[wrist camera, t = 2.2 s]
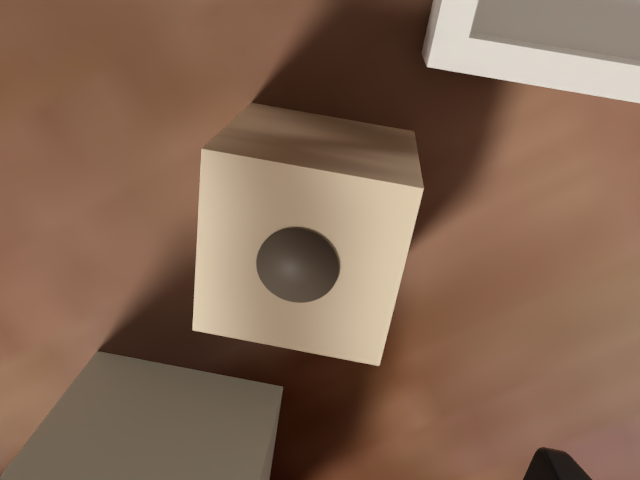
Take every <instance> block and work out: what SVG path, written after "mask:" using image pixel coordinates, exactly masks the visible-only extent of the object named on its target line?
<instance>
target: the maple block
mask: <svg viewBox="0 0 640 480" xmlns="http://www.w3.org/2000/svg"><path fill="white" fill-rule="evenodd" d="M423 190H424V186H423V180H422V174H421V168H420V162H419V156H418V150H417V144H416V138H415V132H414V131H410V130H405V129H399V128H393V127H387V126H382V125H376V124H370V123H365V122H359V121H353V120H348V119H342V118H336V117H330V116H325V115H319V114H313V113H308V112H302V111H296V110H291V109H285V108H279V107H273V106H268V105H262V104H256V103H250V104H249V105H248V106H247V107H246V108H245V109H244V110H243V111H242V112H241V113H240V114H238V115H237V116H236V117H235V118H234V119H233V120H232V121H231V122H230V123H229V124H228V125H227V126H226V127H224V128H223V129H222V130H221V131H220V132H219V133H218V134H217V135H216V136H215V137H214V138H213V139H211V140H210V141H209V142H208V143H207V144H206V145H205V146H204V147H203V148H202V150H201V170H200V189H199V209H198V228H197V248H196V268H195V287H194V307H193V327H192V330H193V331H199V332H204V333H209V334H214V335H219V336H225V337H230V338H235V339H240V340H246V341H251V342H256V343H261V344H266V345H272V346H277V347H282V348H287V349H292V350H298V351H303V352H308V353H313V354H319V355H324V356H329V357H334V358H339V359H345V360H350V361H355V362H360V363H366V364H371V365H376V366H380V362H381V358H382V354H383V350H384V346H385V342H386V338H387V334H388V330H389V326H390V322H391V318H392V314H393V310H394V306H395V302H396V298H397V294H398V290H399V286H400V282H401V278H402V274H403V270H404V266H405V262H406V258H407V254H408V250H409V246H410V242H411V238H412V234H413V230H414V226H415V222H416V218H417V214H418V210H419V206H420V202H421V198H422V194H423Z"/></svg>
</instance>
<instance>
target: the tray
mask: <svg viewBox="0 0 640 480" xmlns="http://www.w3.org/2000/svg"><path fill="white" fill-rule="evenodd" d="M421 54H422V57H423V59H424V61H425V64H426V66H427V67H429V68H435V69H441V70H447V71H453V72H459V73H465V74H471V75H476V76H482V77H488V78H494V79H500V80H506V81H512V82H518V83H524V84H530V85H535V86H541V87H547V88H553V89H559V90H565V91H571V92H577V93H583V94H589V95H594V96H600V97H606V98H612V99H618V100H624V101H630V102H636V103H640V0H433V2H432V7H431V11H430V16H429V20H428V25H427V30H426V34H425V39H424V43H423V48H422V52H421Z"/></svg>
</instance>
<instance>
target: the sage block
mask: <svg viewBox="0 0 640 480" xmlns="http://www.w3.org/2000/svg"><path fill="white" fill-rule="evenodd" d="M282 392H283V387H282V386H277V385H272V384H267V383H262V382H256V381H251V380H246V379H241V378H236V377H230V376H225V375H220V374H215V373H210V372H204V371H199V370H194V369H189V368H183V367H178V366H173V365H168V364H163V363H157V362H152V361H147V360H142V359H137V358H131V357H126V356H121V355H116V354H110V353H105V352H100V351H97V352H96V353H95V354H94V356H93V357H92V358H91V360H90V361H89V362H88V363H87V365H86V366H85V367H84V369H83V370H82V371H81V373H80V374H79V375H78V376H77V378H76V379H75V380H74V382H73V383H72V384H71V385H70V387H69V388H68V389H67V391H66V392H65V393H64V395H63V396H62V397H61V398H60V400H59V401H58V402H57V404H56V405H55V406H54V407H53V409H52V410H51V411H50V413H49V414H48V415H47V417H46V418H45V419H44V420H43V422H42V423H41V424H40V426H39V427H38V428H37V429H36V431H35V432H34V433H33V435H32V436H31V437H30V438H29V440H28V441H27V442H26V444H25V445H24V446H23V448H22V449H21V450H20V451H19V453H18V454H17V455H16V457H15V458H14V459H13V460H12V462H11V463H10V464H9V466H8V467H7V468H6V470H5V471H4V472H3V473H2V475H1V476H0V480H269V479H270V473H271V466H272V459H273V453H274V446H275V439H276V432H277V426H278V419H279V412H280V406H281V399H282Z"/></svg>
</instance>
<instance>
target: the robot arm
mask: <svg viewBox="0 0 640 480" xmlns="http://www.w3.org/2000/svg"><path fill="white" fill-rule="evenodd" d="M523 480H592V479H591V478H590V477H589V476H588V475H587V474H586V472H585V471H584V470H583V469H582V468H581V467H580V466H579V465H578V464H577V463H576V462H575V461H574V459H573V458H572V457H571V456H570V455H569V454H567V453H566V452H564V451H560V450H555V449H550V448H545V447H542V448H539V449H538V450H537V451H536V452H535V454H534V456H533V459H532V461H531V463H530V465H529V467H528V470H527V472H526V474H525V476H524V479H523Z"/></svg>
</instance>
